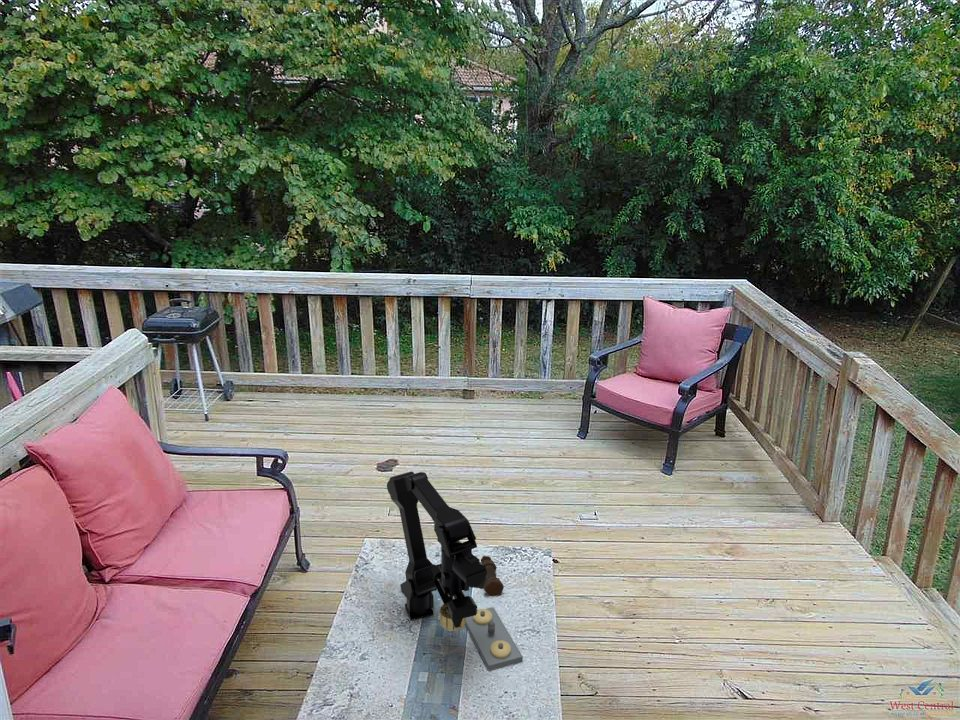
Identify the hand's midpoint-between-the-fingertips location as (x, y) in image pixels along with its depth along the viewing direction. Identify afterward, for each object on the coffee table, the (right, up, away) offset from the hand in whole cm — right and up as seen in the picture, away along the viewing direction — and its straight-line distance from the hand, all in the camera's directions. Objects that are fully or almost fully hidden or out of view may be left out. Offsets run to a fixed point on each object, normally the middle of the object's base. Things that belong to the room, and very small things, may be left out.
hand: (452, 618), depth 162 cm
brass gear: (0, -1, 0) cm, 1 cm away
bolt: (+10, -1, +30) cm, 32 cm away
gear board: (+10, -8, +6) cm, 14 cm away
